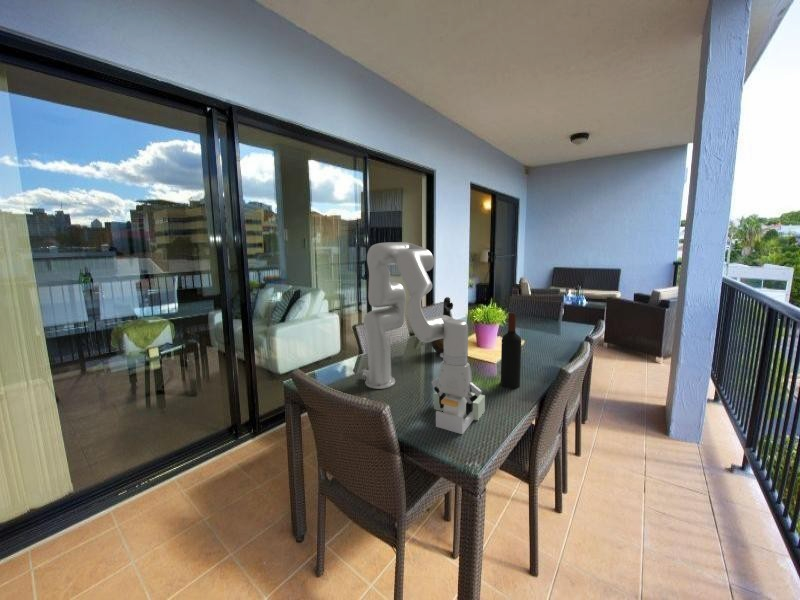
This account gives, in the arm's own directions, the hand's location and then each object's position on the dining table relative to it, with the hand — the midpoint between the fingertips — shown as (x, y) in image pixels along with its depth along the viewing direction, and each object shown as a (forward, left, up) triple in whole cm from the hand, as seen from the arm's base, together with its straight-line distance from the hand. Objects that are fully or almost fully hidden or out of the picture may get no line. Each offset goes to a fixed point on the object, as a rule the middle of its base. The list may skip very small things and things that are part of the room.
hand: (455, 409), depth 111 cm
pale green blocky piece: (-2, +4, -4) cm, 6 cm away
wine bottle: (+8, +38, -5) cm, 39 cm away
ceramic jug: (-31, +61, -5) cm, 69 cm away
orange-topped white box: (0, 0, -4) cm, 4 cm away
